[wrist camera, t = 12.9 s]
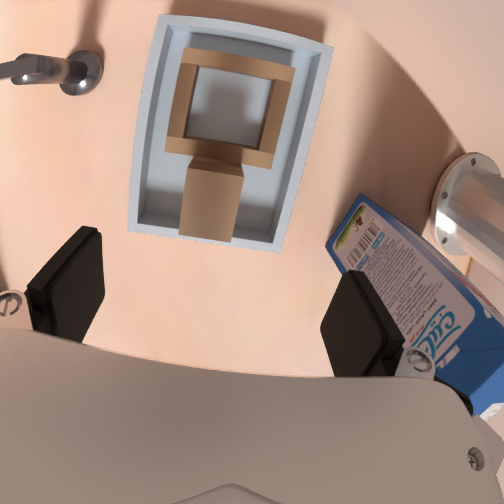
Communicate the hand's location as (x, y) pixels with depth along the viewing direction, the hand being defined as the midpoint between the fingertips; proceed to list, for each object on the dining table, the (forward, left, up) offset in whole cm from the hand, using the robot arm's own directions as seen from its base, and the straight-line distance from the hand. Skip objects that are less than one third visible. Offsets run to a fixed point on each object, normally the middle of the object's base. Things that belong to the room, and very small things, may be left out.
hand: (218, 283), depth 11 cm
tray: (+1, -4, -15) cm, 16 cm away
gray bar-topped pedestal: (+14, -8, -15) cm, 22 cm away
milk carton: (-16, +3, -15) cm, 23 cm away
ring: (+1, -4, -14) cm, 15 cm away
